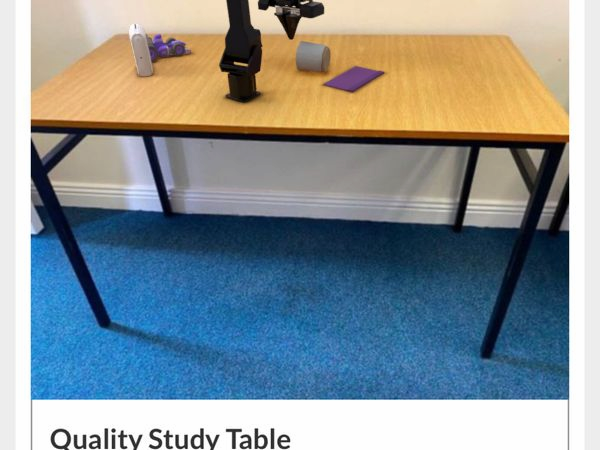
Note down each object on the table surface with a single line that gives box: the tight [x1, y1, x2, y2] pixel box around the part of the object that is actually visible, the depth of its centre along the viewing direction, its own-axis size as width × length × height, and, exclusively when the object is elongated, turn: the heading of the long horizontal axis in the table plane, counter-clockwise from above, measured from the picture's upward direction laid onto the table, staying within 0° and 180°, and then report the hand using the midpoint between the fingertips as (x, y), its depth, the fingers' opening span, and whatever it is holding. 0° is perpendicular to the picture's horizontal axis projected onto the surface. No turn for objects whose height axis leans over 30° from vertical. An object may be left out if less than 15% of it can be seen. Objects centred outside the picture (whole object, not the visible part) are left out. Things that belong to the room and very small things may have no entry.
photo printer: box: [128, 23, 154, 77], centre depth 131 cm, size 10×4×12 cm, turn 17°
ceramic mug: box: [295, 40, 332, 74], centre depth 130 cm, size 11×8×8 cm
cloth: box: [322, 65, 385, 94], centre depth 126 cm, size 16×9×1 cm, turn 142°
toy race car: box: [145, 33, 192, 64], centre depth 143 cm, size 10×15×6 cm, turn 120°
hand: (291, 39), depth 132 cm, fingers closed
